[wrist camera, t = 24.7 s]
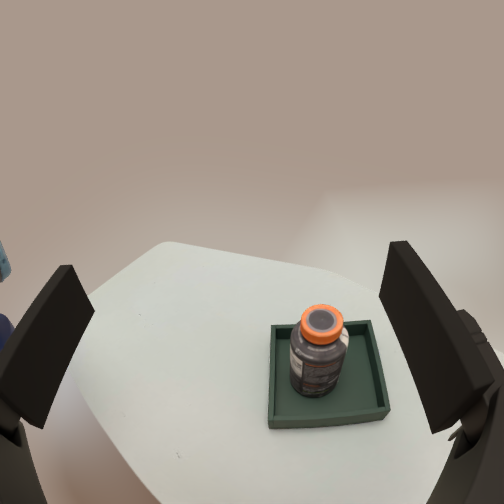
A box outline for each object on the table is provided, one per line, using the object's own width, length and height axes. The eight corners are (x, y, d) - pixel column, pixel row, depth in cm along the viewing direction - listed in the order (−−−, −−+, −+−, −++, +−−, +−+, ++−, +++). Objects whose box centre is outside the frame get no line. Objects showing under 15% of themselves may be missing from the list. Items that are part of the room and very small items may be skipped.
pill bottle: (344, 366, 33) (361, 305, 26) (327, 405, 29) (343, 353, 22) (301, 351, 36) (305, 289, 29) (280, 388, 32) (279, 331, 25)
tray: (268, 428, 28) (267, 420, 26) (272, 338, 38) (271, 324, 37) (383, 419, 26) (390, 410, 25) (366, 333, 37) (370, 319, 35)
